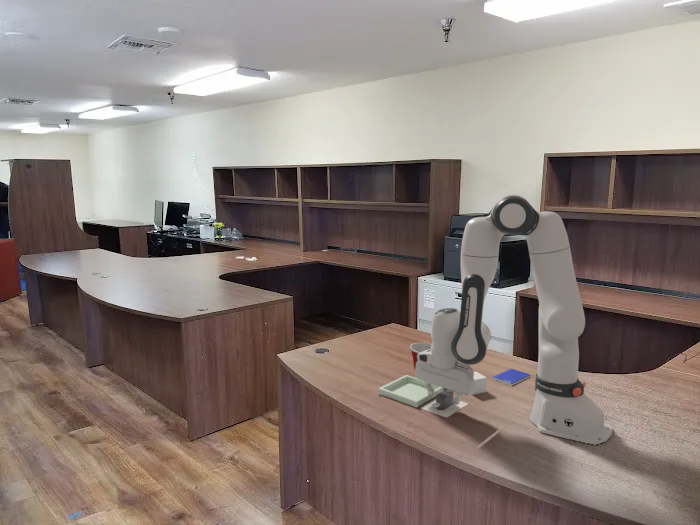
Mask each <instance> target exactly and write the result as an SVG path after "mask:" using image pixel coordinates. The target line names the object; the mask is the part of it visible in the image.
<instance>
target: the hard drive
mask: <svg viewBox="0 0 700 525" xmlns="http://www.w3.org/2000/svg"><path fill="white" fill-rule="evenodd" d="M530 377H531V374H530V373H527V372H525V371H520V370H518V369H513V368H509V369H507V370H505V371H502V372H500V373H498V374H496V375H494V376H491V380H492V379H493V381H495V380H497V381H496V382H498V381H499V382H500V383H501V382H502V383H501V384H504V383H505V384H504V385H507V384H508V386H510V385H511V386H510V387H512V385H513V386H515V385H516V384H519V383H520V382H522V380H523V381H525V380H526V379H528V378H530ZM524 379H525V380H524ZM499 382H498V383H499ZM514 384H515V385H514Z"/></svg>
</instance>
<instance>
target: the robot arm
mask: <svg viewBox="0 0 700 525" xmlns="http://www.w3.org/2000/svg"><path fill="white" fill-rule="evenodd" d="M506 234H508V235H517V236H524V237H525V240H526V243H527V248H528V254H529V260H530V266H531V270H532V276H533V281H534V285H535V289H536V294H537V300H538V304H539V305H538V359H537V360H538V361H537V373H536V374H535V381H534V388H535V389H534V391H535V397H534V401H533V406H532V409H531V412H530V414H529V420H530V421H531V423H532V424H533V425H535V427H537V429H538V431H539V432H540V433H542V434H547V435H550V436H555V437H558V438H563V439H566V440H570V439H571V440H570V441H574V440H575V442H579V441H581V442H580V443H583V442H588V443H591V444H599V443H602V442H605V441H606V442H608V441H609V440H610V439H611V437H612V435H613V427H612V426H611V424H610V423H607V422H605V417H604V412H603V410H602V408H601V407H600V406H599V405H598V404H596V403H595V402H594V401H593V399H591V398H590V397H589V396H588V395H587V394H585V393H584V392H585V387H586V382H585V381H584V382H583V383H582V382H581V381H580V379H579V377H578V376H579V364H580V363H579V361H580V351H579V337H580V336H581V335H582V334H583V333H584V330H585V327H586V315H585V311H584V308H583V302H582V298H581V297H582V296H581V294H580V289H579V286H578V280H577V279H576V274H575V270H574V263H573V258H572V257H573V256H572V251H571V246H570V241H569V237H568V232H567V230H566V227H565V224H564V222H563V219H562V217H561V215H560V214H558V213H556V212H555V211H550V210H544V211H537V210H536V209H535V208H534V207H533V206H532V205H531V203H530V202H529V201H528V200H527V199H526V198H525V197H523V195H519V194H514V193H511V194H506V195H503V196H501V197H499V199H498V200H496V201H495V203H494V204H493V207H492V208H491V210H489V212H488V214H487V215H486V216H477V217H474V218H471V219H470V220H468V221H467V223H466V225H465V227H464V230H463V234H462V238H461V246H460V263H459V264H460V283H461V303H460V310H459V309H457V308H452V307H446V308H442V309H439V310H437V311H436V312H434V314H433V316H432V322H431V329H430V331H431V332H430V338H431V344H432V345H431V349H428V350H425V351H423V352H421V353H419V354H417V359H418V361H417V362H416V367H415V369H414V373H415V374H414V377H415V378H417V379H418V380H421V381H424V382H425V386H426V388H427V390H428V395H430V396H433V395H434V389H432V386H431V384H433V385H436V386H439V387H442V388H444V390H451V391H453V392H455V395H456V396H455V397H453V404H456V405H458V404H459V403H460V401H461V397H463V395H464V396H469V395H471V393H472V392H473V391H474V378H473V377H474V372H475V370H474V369H473V368H472V367H471V366H472V365H474V366H475V365H477V364H479V363H480V362H482V361H483V360H484V359H485V357H486V354H487V349H488V347H489V344H490V341H491V338H492V335H491V334H492V333H491V330H490V328H489V326H488V325H487V324H485V323H484V322H483V313H484V304H485V299H486V296H487V293H488V291H489V289H490V287H491V285H492V283H493V281H494V279H495V276H496V273H497V269H498V263H499V256H500V255H499V254H500V244H501V240H502V239H503V237H504V236H505V235H506ZM610 436H611V437H610ZM609 438H610V439H609ZM608 439H609V440H608ZM607 440H608V441H607ZM606 442H605V443H606ZM591 444H590V445H591ZM599 445H600V444H599Z"/></svg>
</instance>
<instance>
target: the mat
mask: <svg viewBox="0 0 700 525" xmlns="http://www.w3.org/2000/svg"><path fill="white" fill-rule="evenodd" d="M435 402H436V398H435V399H432V400H430V401H428V402H427V403H426V404H423V405H421V407H420V409H422V410H424V411H427V412H430V413H433V414H436V415H438V416H441V417H444V418H449V417H451V416H452V415H453V414H455V413H457V412H458V411H460V410H462V409H463V408H464V407H466V406H467V405H469V403H468V402H465V401H462V400H460V403H459V404H458V405H456V404H453V405H451V406H450V407H448V408H446V409H445V410H438V409H436V407H434V406H433V403H435Z"/></svg>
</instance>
